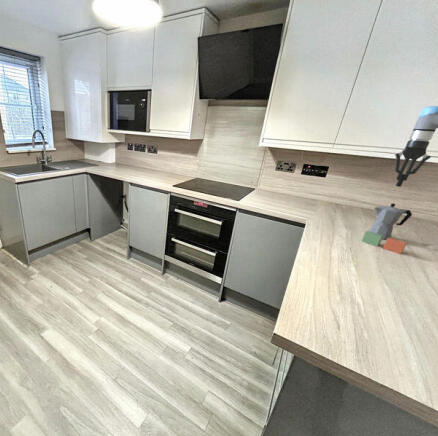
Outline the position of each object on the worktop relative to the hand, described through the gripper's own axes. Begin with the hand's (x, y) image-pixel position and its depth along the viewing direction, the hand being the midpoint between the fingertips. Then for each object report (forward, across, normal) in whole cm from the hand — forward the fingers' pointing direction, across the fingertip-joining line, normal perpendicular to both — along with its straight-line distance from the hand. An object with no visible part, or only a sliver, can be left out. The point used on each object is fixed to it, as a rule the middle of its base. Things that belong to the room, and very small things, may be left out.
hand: (398, 186), depth 127 cm
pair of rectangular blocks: (+24, +3, +35) cm, 43 cm away
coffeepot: (+25, +1, +18) cm, 31 cm away
